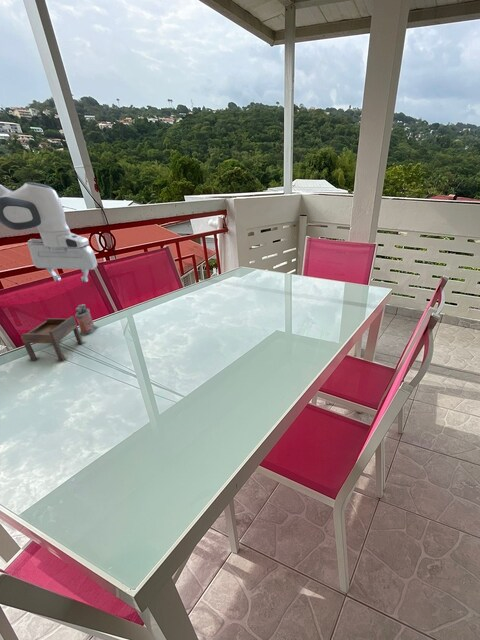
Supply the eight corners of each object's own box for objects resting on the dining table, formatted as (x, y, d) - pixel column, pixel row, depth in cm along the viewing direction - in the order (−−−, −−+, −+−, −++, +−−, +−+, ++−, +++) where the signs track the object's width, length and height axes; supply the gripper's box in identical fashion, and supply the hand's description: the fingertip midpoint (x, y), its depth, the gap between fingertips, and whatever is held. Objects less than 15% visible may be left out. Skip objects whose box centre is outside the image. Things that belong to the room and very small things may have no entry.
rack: (31, 360, 108) (17, 331, 103) (54, 342, 120) (43, 315, 114) (63, 360, 109) (51, 332, 104) (83, 342, 121) (73, 316, 115)
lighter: (88, 326, 133) (80, 302, 127) (97, 326, 133) (89, 302, 127) (79, 334, 126) (70, 309, 120) (88, 334, 127) (80, 309, 121)
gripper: (19, 240, 109) (36, 282, 116) (84, 242, 110) (96, 284, 118) (31, 236, 114) (46, 278, 122) (92, 239, 115) (104, 279, 123)
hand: (71, 281), depth 120 cm, fingers open, 8 cm apart
